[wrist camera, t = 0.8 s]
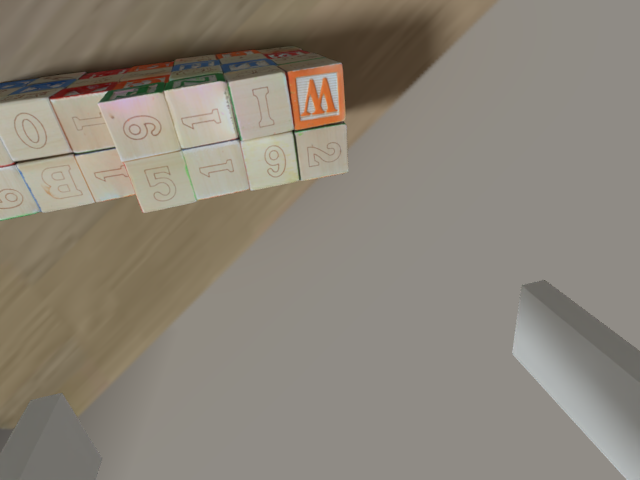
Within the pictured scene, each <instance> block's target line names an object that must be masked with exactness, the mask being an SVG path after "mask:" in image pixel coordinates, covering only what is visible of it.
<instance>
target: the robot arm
mask: <svg viewBox="0 0 640 480" xmlns="http://www.w3.org/2000/svg"><path fill="white" fill-rule="evenodd" d="M512 354H513V355H514V356H515V357H516V358H517V359H518V361H519V362H520V363H521V364H522V365H523V366H524V367H525V368H526V369H527V371H528V372H529V373H530V374H531V375H532V376H533V377H534V378H535V379H536V380H537V382H538V383H540V385H541V386H542V387H543V388H544V389H545V390H546V391H547V393H548V394H549V395H550V396H551V397H552V398H553V399H554V400H555V401H556V402H557V404H558V405H559V406H560V407H561V408H562V409H563V410H564V411H565V412H566V413H567V415H568V416H569V417H570V418H571V419H572V420H573V421H574V422H575V423H576V424H577V426H578V427H579V428H580V429H581V430H582V431H583V432H584V433H585V434H586V435H587V437H588V438H589V439H590V440H591V441H592V442H593V443H594V444H595V445H596V446H597V447H598V448H599V450H600V451H601V452H602V453H603V454H604V455H605V456H606V457H607V458H608V460H609V461H610V462H611V463H612V464H613V465H614V466H615V467H616V468H617V469H618V471H619V472H620V473H621V474H622V475H623V476H624V477H625V478H626V479H627V480H640V351H639V350H638V349H636V348H635V347H634V346H632V345H631V344H630V343H628V342H627V341H626V340H624V339H623V338H622V337H620V336H619V335H618V334H616V333H615V332H614V331H612V330H611V329H610V328H608V327H607V326H606V325H604V324H603V323H602V322H600V321H599V320H598V319H596V318H595V317H593V316H592V315H591V314H590V313H588V312H587V311H586V310H584V309H583V308H582V307H580V306H579V305H577V304H576V303H575V302H574V301H572V300H571V299H570V298H568V297H567V296H566V295H564V294H563V293H561V292H560V291H559V290H558V289H556V288H555V287H553V286H552V285H551V284H549V283H548V282H547V281H545V280H542V281H539V282H534V283H530V284H526V285H522V287H521V294H520V301H519V308H518V315H517V323H516V330H515V337H514V345H513V352H512ZM101 461H102V457H101V455H100V454H99V452H98V451H97V449H96V447H95V446H94V444H93V442H92V441H91V439H90V438H89V436H88V434H87V433H86V431H85V429H84V428H83V426H82V425H81V423H80V422H79V420H78V418H77V416H76V415H75V413H74V412H73V410H72V408H71V407H70V405H69V404H68V402H67V400H66V399H65V397H64V395H63V394H62V393H59V394H55V395H51V396H47V397H42V398H38V399H34V400H31V401H30V402H29V404H28V406H27V408H26V409H25V411H24V413H23V415H22V416H21V418H20V420H19V422H18V423H17V425H16V427H15V429H14V430H13V432H12V434H11V436H10V438H9V439H8V441H7V443H6V445H5V446H4V448H3V450H2V451H1V453H0V480H96V477H97V474H98V471H99V467H100V464H101Z"/></svg>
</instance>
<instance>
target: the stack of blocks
mask: <svg viewBox="0 0 640 480" xmlns="http://www.w3.org/2000/svg"><path fill="white" fill-rule="evenodd" d="M345 117H346V111H345V93H344V78H343V66H342V63H340V62H338V61H334V60H331V59H327V58H326V57H324V56H322V55H318V54H316V53H310V52H306V51H303V50H302V49H301V48H298V47H294V46H288V47H280V48H272V49H264V50H246V51H238V52H230V53H222V54H216V55H205V56H196V57H189V58H181V59H176V60H174V61H173V62H164V63H157V64H149V65H141V66H134V67H132V68H125V69H117V70H109V71H101V72H94V73H89V74H88V73H87V72H78V73H70V74H62V75H55V76H47V77H41V78H38V79H30V80H22V81H14V82H7V83H0V221H2V220H7V219H12V218H17V217H22V216H27V215H31V214H36V213H38V212H43V213H45V212H51V211H56V210H61V209H66V208H71V207H75V206H80V205H86V204H91V203H94V202H103V201H107V200H113V199H117V198H122V197H126V196H131V195H136V197H137V200H138V202H139V205H140V208H141V210H142V212H143V213H147V212H152V211H156V210H161V209H166V208H169V207H174V206H180V205H184V204H189V203H194V202H196V201H197V200H202V199H208V198H213V197H218V196H222V195H226V194H232V193H237V192H241V191H245V190H248V189H249V190H258V189H263V188H268V187H273V186H278V185H283V184H287V183H292V182H297V181H299V180H303V181H306V180H311V179H317V178H322V177H327V176H332V175H338V174H342V173H346V172H348V170H349V169H348V149H347V126H346V124H345V123H344V121H345Z"/></svg>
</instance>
